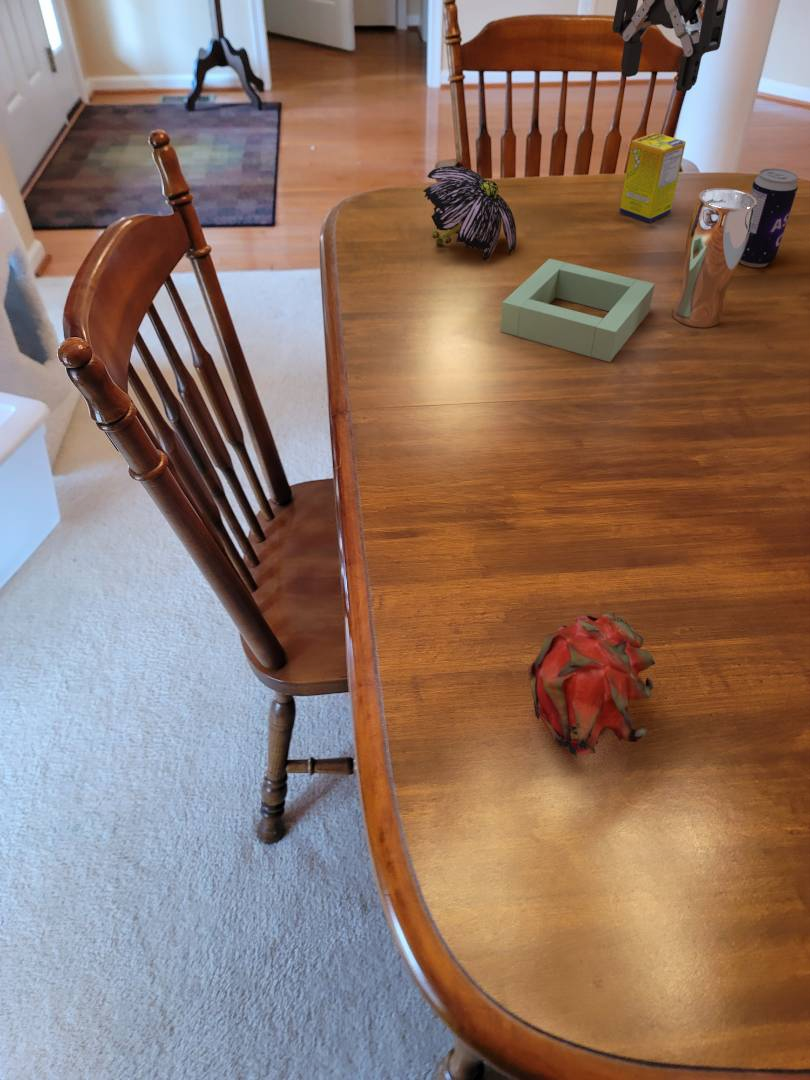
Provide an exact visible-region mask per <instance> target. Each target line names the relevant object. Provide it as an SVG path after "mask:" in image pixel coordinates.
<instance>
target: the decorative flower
mask: <svg viewBox="0 0 810 1080" xmlns="http://www.w3.org/2000/svg"><path fill="white" fill-rule="evenodd" d="M427 178H428V179H432V180H440V181H437V182H435V183H433V184H431V185H430V186H428V187H426V188H425V189H424V190H422V193H423V192H424V193H425V194H424V198H426V197H427V201H430V202H431V204H433V206H434V208H433V214H432V215H430V216H431V219H432V221H433V223H434V226H435V227H436V230H434V231H432V234H431V237H432V239H434V240H435V242H436V243H435V244H436V245H437V246H442V245H443V244H444V243H445V244H447V245H449V244H451V243H452V240H453V239H452V235H454V234H457V236H456V239H455V242H456V243H462V244H464V246H465V248H466V249H468V248H469V247H470V248H471V249H472V250H474V249H476V250H479V251H480V250H481V252H482V257H481V260H483V261H485V262H488V260H489V259H490V258H491V256H492V255H493V253H494V252H495V249H496V247H497V245H498V242H499V239H500V236H501V229H502V230H503V234H504V237H505V239H506V241H507V242H506V243H507V249H508V255H509V256H511V254H512V252H513V251H514V252H515V250H516V246H517V227H516V221H515V217H514V215H513V212H512V210H511V208H510V205H508V203H507V201H505V199H504V198H503V197H502V196H501V195H500V194H499V187H498V185H497V183H496V182H495V181H491V180H489V179H485V178H484V177H483V176H482V175H480V174H479V173H478V172H476V171H474V170H472V169H470V168H467V167H463V166H456V165H449V166H448V165H447V166H441V167H440V166H439V167H438V168H434V169H432V170H431V171H429V173H428V174H427ZM437 230H438V231H443V232H442V233H441V234H440V233H439V232H438V231H437Z"/></svg>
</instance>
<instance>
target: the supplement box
mask: <svg viewBox="0 0 810 1080" xmlns="http://www.w3.org/2000/svg"><path fill="white" fill-rule="evenodd" d="M685 148H686V140H683V139H680V138H676V137H672V136H669V135H665V134H662V133H658V132H652V133H650V134H647V135H644V136H641V137H638V138H635V139H633V140H631V142H630V149H629V155H628V161H627V166H626V172H625V176H624V183H623V189H622V195H621V199H620V200H621V201H620V205H619V214H622V215H624V216H627V217H630V218H633V219H636V220H638V221H642V222H644V223H647V224H650V223H653V222H655V221H657V220H659V219H661V218H663V217H665V216H667V215H670V214H671V212H672V207H673V203H674V199H675V193H676V189H677V184H678V179H679V176H680V175H679V174H680V172H681V166H682V161H683V158H684V152H685Z"/></svg>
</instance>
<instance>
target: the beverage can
mask: <svg viewBox="0 0 810 1080" xmlns="http://www.w3.org/2000/svg"><path fill="white" fill-rule="evenodd" d="M798 178H799V177H798V174H796V172H793V171H792V170H788V169H783V168H777V167H776V168H775V167H773V168H772V167H769V168H764V169H761V170H760V171H759V173H758V175H757V176H756V178H754V180H753V183H752V186H751V189H750V193H749V194H750V195H752V196H753V197H754V198H755V199H756V200H757V204H756V208H755V212H754V218H753V223H752V227H751V231H750V235H749V239H748V242H747V245H746V248H745V251H744V253H743V255H742V258H741V260H740V262H739V264H741V265H742V266H743V265H744V266H746V267H749V268H763V267H767V266H768V264H771V263H772V262H774V261H775V260H776V258H777V255H778V251H779V249H780V245H781V242H782V240H783V239H782V238H783V235H784V233H785V229H786V227H787V223H788V220H789V217H790V213H791V211H792V208H793V204H794V200H795V198H796V194H797V191H798V188H799V186H798Z"/></svg>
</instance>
